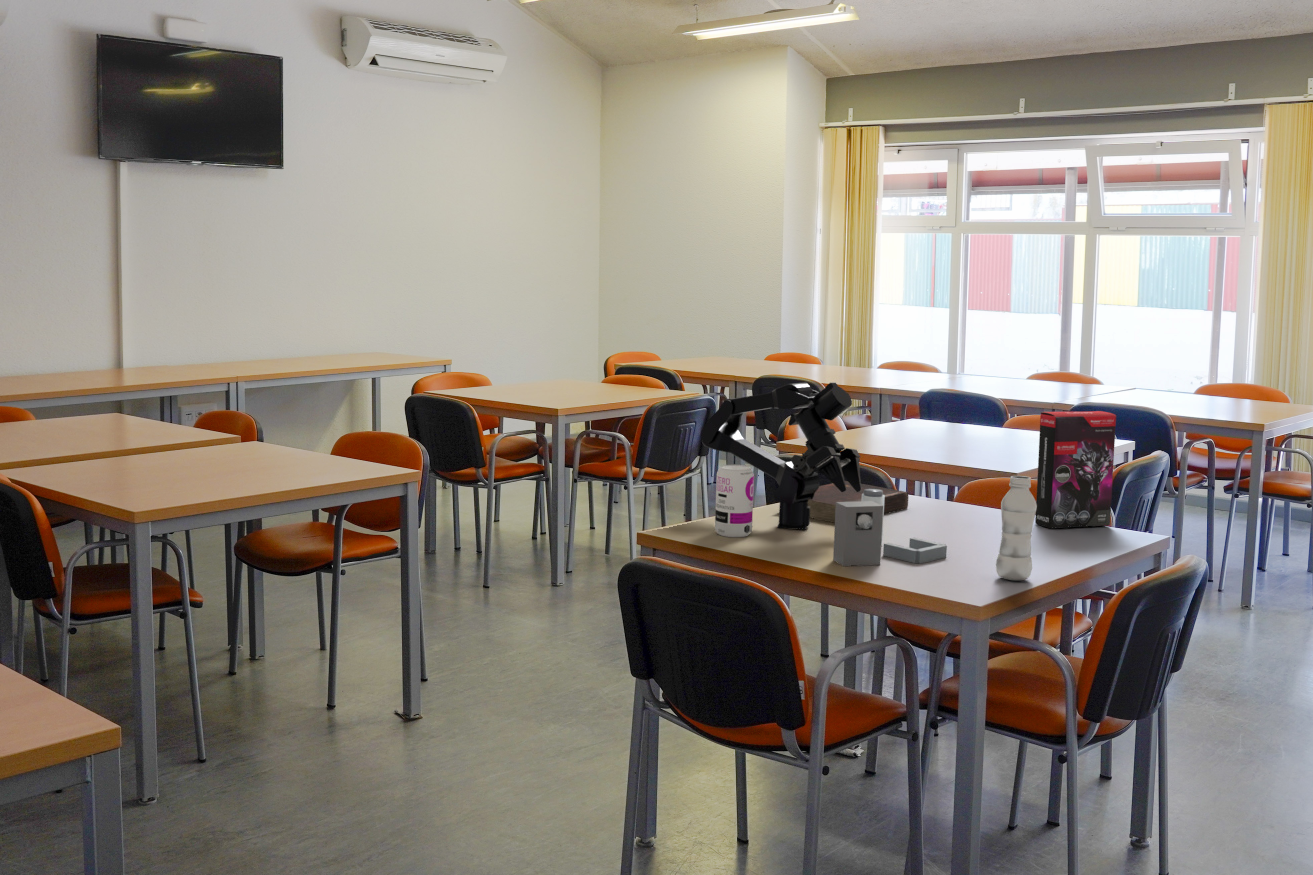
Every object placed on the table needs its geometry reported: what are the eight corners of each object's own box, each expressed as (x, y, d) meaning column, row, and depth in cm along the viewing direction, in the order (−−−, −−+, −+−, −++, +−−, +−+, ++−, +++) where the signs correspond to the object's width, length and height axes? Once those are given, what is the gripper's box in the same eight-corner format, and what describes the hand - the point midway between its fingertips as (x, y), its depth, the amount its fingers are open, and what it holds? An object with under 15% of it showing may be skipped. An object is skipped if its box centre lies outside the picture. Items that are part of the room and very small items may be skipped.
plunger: (839, 522, 233) (840, 505, 232) (855, 521, 234) (856, 504, 233) (857, 531, 225) (858, 513, 224) (874, 530, 226) (875, 513, 225)
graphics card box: (1048, 530, 266) (1057, 414, 262) (1031, 523, 272) (1039, 410, 269) (1110, 527, 271) (1119, 413, 267) (1091, 521, 277) (1100, 410, 274)
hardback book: (845, 526, 266) (846, 505, 266) (779, 514, 279) (780, 494, 278) (907, 510, 288) (908, 490, 287) (844, 499, 300) (845, 480, 299)
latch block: (833, 560, 231) (835, 502, 229) (869, 558, 233) (872, 501, 231) (843, 566, 226) (846, 506, 224) (880, 564, 228) (883, 505, 226)
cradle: (883, 555, 236) (883, 543, 236) (913, 548, 243) (914, 537, 242) (917, 563, 230) (918, 551, 229) (948, 556, 236) (948, 545, 236)
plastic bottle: (989, 575, 222) (996, 474, 219) (1023, 575, 223) (1030, 474, 220) (1002, 583, 216) (1009, 479, 213) (1037, 584, 216) (1044, 480, 213)
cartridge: (858, 546, 243) (861, 491, 242) (859, 542, 248) (862, 487, 246) (881, 548, 242) (884, 493, 240) (882, 543, 247) (885, 489, 245)
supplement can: (755, 531, 255) (758, 465, 253) (746, 539, 248) (748, 471, 246) (720, 528, 258) (722, 463, 256) (710, 535, 250) (712, 468, 248)
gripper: (805, 451, 267) (838, 509, 262) (771, 449, 251) (806, 510, 246) (843, 426, 262) (877, 484, 257) (812, 422, 246) (848, 484, 241)
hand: (852, 491), depth 251 cm, fingers open, 9 cm apart
